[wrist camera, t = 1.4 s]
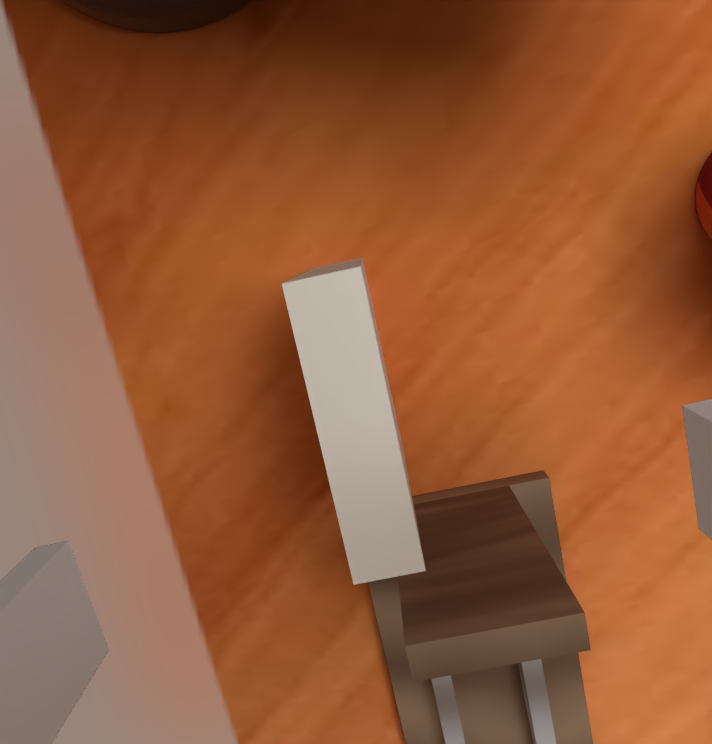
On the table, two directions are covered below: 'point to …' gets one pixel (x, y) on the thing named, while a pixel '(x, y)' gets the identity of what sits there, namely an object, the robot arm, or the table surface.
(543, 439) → the table surface
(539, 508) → the track
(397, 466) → the door panel
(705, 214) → the coffee cup
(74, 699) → the robot arm
